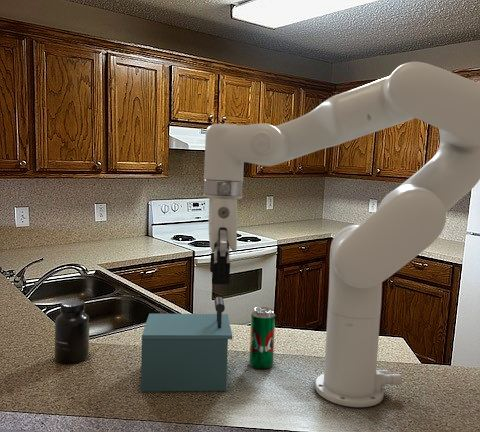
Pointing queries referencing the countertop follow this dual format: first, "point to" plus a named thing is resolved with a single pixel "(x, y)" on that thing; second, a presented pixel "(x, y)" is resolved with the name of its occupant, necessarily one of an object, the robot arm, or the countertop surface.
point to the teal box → (184, 365)
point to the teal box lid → (189, 325)
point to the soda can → (262, 337)
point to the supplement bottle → (72, 333)
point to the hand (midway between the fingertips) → (219, 277)
